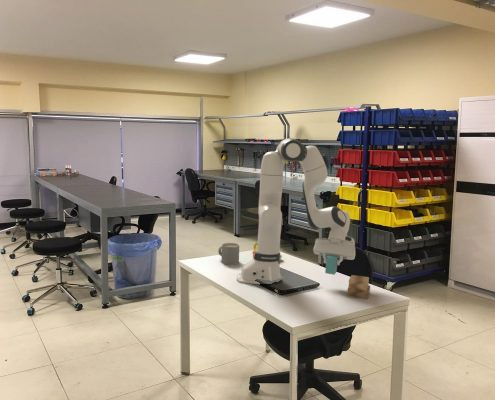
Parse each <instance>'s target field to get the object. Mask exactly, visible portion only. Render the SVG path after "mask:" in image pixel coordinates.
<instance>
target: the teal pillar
mask: <svg viewBox="0 0 495 400" xmlns="http://www.w3.org/2000/svg"><path fill="white" fill-rule="evenodd" d="M337 260H339V258H338V256H332V255H328V256H326V263H325V274H328V275H333V276H334V275H336V273H337V269H338V265H336V261H337Z"/></svg>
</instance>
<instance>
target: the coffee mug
mask: <svg viewBox="0 0 495 400" xmlns="http://www.w3.org/2000/svg"><path fill="white" fill-rule="evenodd" d="M217 251H218V255H219V256H220V257H221V259H220V260H221V264H224V265H237V264H239V263H240V244H239V243H235V242H225V243H222V244H221V246H219V247H218V250H217Z"/></svg>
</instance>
